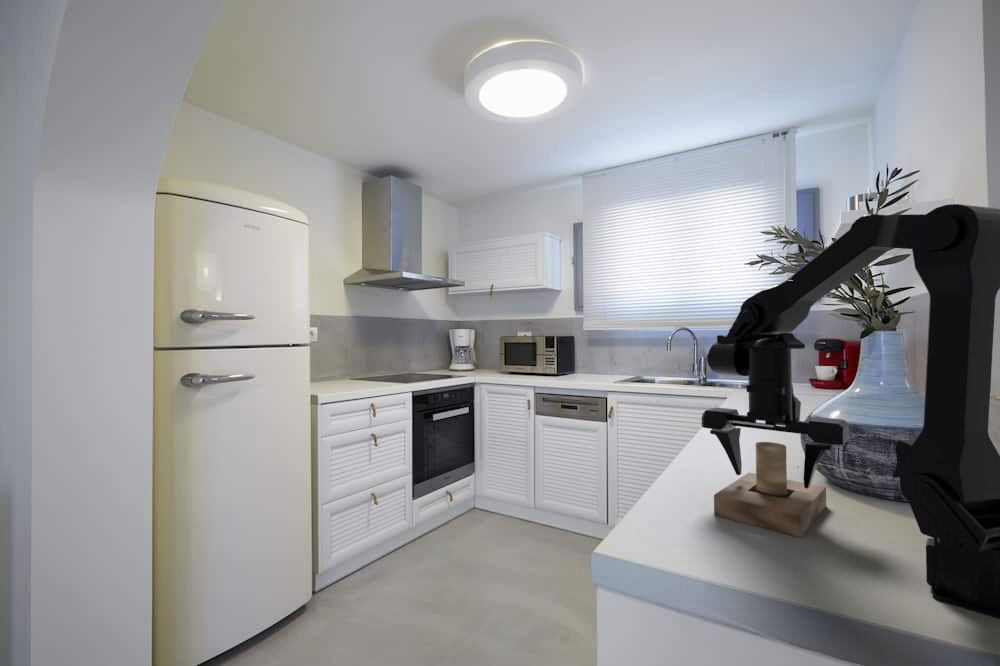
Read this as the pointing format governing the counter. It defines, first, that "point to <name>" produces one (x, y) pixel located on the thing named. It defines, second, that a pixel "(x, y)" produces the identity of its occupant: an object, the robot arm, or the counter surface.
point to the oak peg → (771, 469)
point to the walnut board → (771, 505)
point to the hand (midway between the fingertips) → (771, 480)
